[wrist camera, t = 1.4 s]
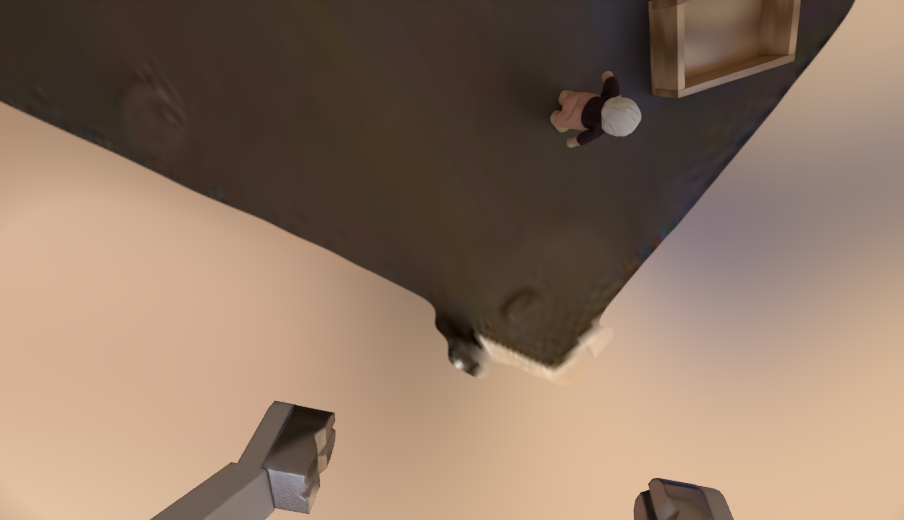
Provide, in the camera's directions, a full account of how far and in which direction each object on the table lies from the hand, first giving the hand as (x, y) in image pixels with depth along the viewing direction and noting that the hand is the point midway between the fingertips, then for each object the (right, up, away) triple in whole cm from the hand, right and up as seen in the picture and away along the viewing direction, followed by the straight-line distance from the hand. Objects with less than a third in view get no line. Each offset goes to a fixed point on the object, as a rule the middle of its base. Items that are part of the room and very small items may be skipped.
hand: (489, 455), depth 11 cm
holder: (+27, +30, +36) cm, 54 cm away
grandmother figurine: (+12, +22, +37) cm, 45 cm away
